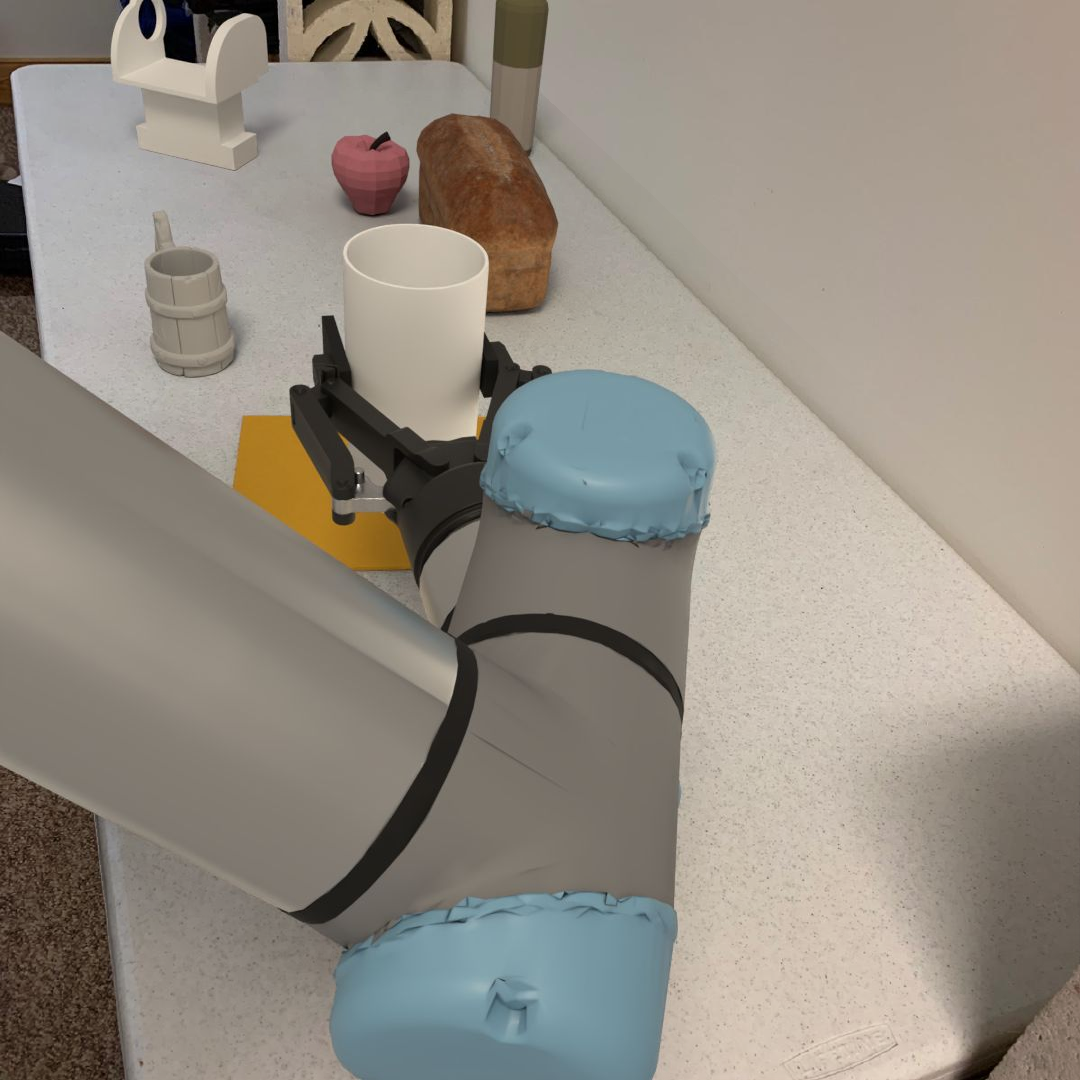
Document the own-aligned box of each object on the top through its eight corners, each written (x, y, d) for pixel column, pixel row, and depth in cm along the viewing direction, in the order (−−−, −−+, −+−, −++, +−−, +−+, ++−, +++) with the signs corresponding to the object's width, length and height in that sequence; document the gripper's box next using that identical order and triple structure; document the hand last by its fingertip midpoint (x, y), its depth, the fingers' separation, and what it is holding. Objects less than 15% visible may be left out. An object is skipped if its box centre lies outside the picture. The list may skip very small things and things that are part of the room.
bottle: (478, 144, 144) (493, -97, 124) (521, 142, 147) (543, -95, 127) (496, 163, 140) (516, -84, 120) (541, 160, 142) (567, -83, 123)
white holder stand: (126, 154, 129) (100, 1, 117) (181, 125, 138) (162, -20, 126) (224, 177, 126) (208, 24, 115) (274, 145, 136) (263, 0, 124)
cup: (338, 448, 68) (330, 226, 57) (454, 436, 71) (467, 220, 60) (362, 525, 62) (357, 294, 52) (487, 508, 65) (507, 284, 54)
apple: (386, 191, 128) (387, 112, 122) (423, 218, 124) (425, 136, 117) (320, 204, 124) (316, 122, 117) (355, 232, 119) (353, 148, 112)
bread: (500, 211, 128) (510, 95, 118) (558, 320, 108) (575, 191, 98) (407, 211, 125) (409, 92, 115) (449, 324, 105) (455, 191, 95)
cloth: (222, 573, 74) (221, 569, 74) (243, 418, 89) (242, 415, 88) (539, 566, 78) (540, 563, 78) (509, 420, 93) (509, 416, 92)
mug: (166, 386, 91) (146, 264, 83) (131, 325, 98) (109, 208, 90) (248, 369, 94) (236, 251, 87) (208, 311, 102) (194, 197, 94)
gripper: (276, 652, 48) (234, 392, 64) (673, 590, 54) (545, 367, 70) (264, 535, 43) (222, 285, 59) (702, 482, 49) (558, 268, 65)
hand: (398, 330), depth 64 cm, fingers closed on cup, 8 cm apart
